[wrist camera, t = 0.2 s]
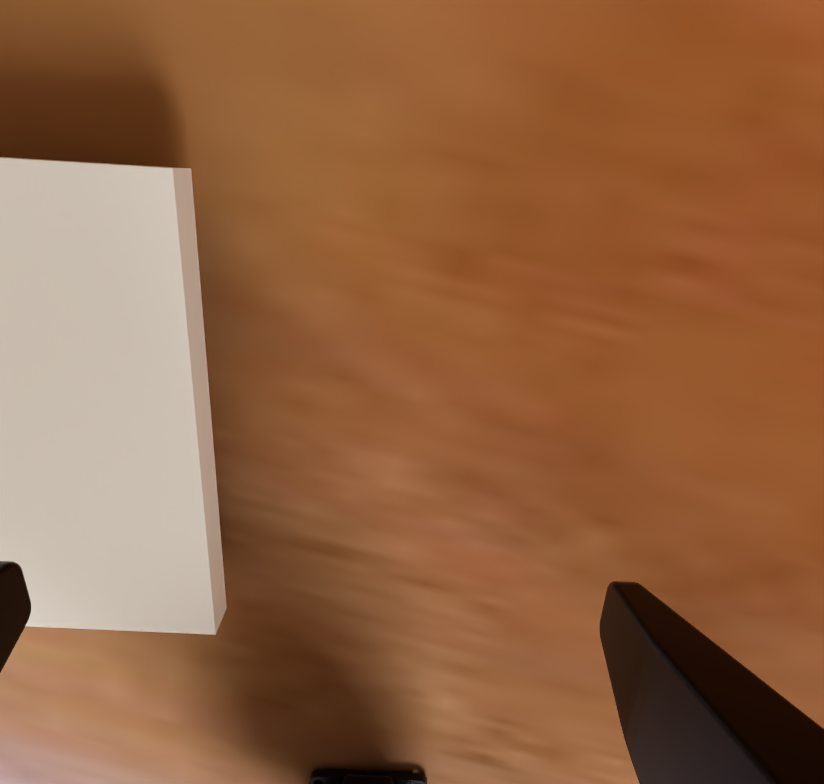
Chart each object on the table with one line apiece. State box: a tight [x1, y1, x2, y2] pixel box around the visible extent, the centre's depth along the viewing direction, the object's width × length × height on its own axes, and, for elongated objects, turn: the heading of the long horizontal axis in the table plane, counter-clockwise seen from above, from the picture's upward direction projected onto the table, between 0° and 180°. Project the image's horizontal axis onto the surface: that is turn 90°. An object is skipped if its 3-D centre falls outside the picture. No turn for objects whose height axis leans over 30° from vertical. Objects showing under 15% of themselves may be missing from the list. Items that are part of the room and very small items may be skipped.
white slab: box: [0, 157, 227, 635], centre depth 22 cm, size 18×15×4 cm
